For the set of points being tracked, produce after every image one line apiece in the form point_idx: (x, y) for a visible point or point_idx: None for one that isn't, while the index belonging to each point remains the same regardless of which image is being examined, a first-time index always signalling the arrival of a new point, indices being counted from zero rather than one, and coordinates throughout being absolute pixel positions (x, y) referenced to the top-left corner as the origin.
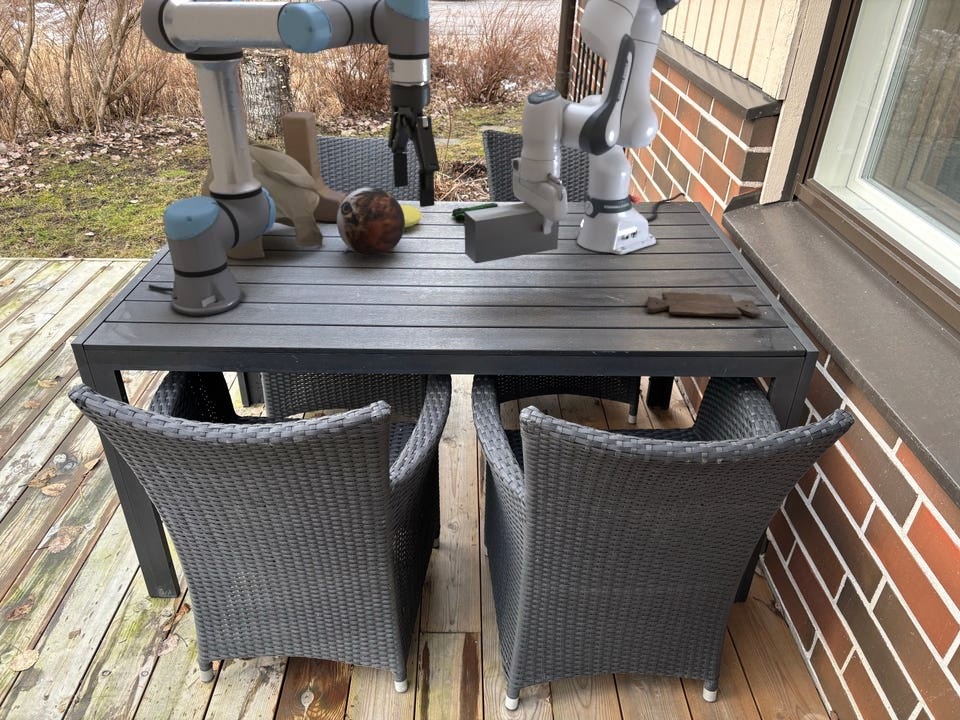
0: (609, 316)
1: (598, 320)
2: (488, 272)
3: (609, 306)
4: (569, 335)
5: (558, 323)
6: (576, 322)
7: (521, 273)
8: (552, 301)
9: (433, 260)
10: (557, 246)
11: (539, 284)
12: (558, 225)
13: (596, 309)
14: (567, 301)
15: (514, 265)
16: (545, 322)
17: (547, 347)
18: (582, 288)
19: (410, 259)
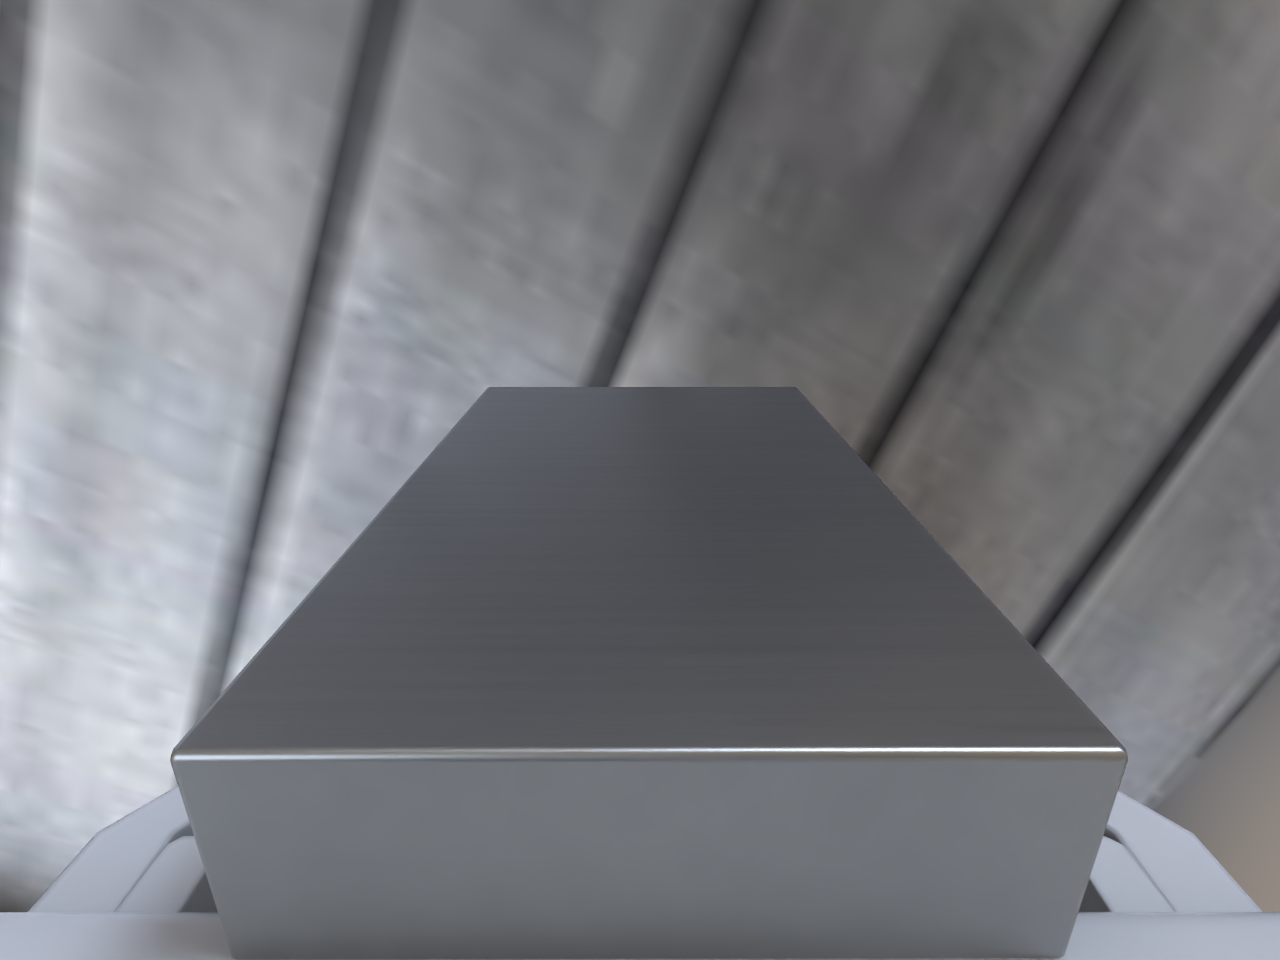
0: (1215, 138)
1: (1208, 247)
2: (296, 562)
3: (1100, 40)
4: (1233, 506)
5: (1087, 494)
6: (1141, 393)
7: (361, 377)
8: (831, 390)
9: (62, 764)
10: (804, 397)
11: (568, 346)
12: (896, 505)
13: (1081, 168)
14: (878, 297)
15: (215, 361)
16: (1036, 551)
17: (1252, 657)
18: (748, 69)
19: (35, 853)
